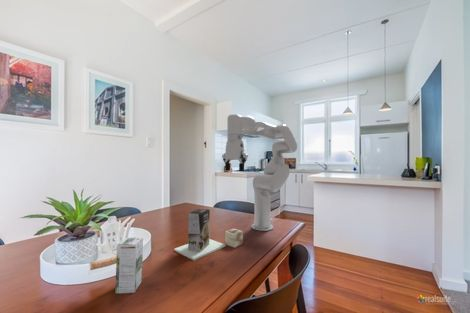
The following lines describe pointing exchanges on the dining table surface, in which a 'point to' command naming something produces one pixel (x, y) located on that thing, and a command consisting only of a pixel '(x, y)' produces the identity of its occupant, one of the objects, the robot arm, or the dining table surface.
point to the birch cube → (234, 237)
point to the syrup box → (129, 265)
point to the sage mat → (207, 250)
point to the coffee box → (198, 229)
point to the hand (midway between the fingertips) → (234, 170)
